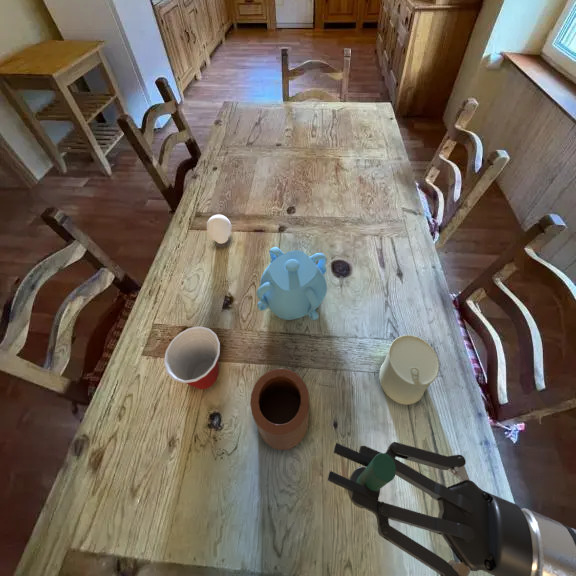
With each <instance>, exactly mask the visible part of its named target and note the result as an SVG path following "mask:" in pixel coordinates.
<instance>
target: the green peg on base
mask: <svg viewBox="0 0 576 576" xmlns="http://www.w3.org/2000/svg"><path fill="white" fill-rule="evenodd" d="M385 453H386V452H381V453H380V454H377V455H376V456H375V457H374V459H373V460H372V461H371V462H370V463H369V465H368V466H367V467H365V466H360V467H357V468H356V469H355V470H354V471H353V472H352V474H351V475H350V476H349V477H348V479H349V480H352V481H354V482H356V483H358V484H360V485H363V486H365V487H367V488H369V489H371V490H373V491H376V492H378V493H379V495H380V494H381V489H382V488H383V487H385V486H386V485H387V484H389V483H390V482H391V481H393V480H394V478H395V477H396V475H395V474H396V466H395V463H394V461H393V459H392V458H391V457H390V456H389V455H387V454H385ZM346 491H347V495H348V498H349V500H350V501H351V495H352V491H349V490H347V489H346ZM351 503H352V504H353V505H354V506H355V507H357V508H360V509H363V508H362V507H360V506H358V505H356V504H354V503H353V502H352V501H351Z"/></svg>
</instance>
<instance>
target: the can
mask: <svg viewBox="0 0 576 576" xmlns="http://www.w3.org/2000/svg"><path fill="white" fill-rule="evenodd" d="M439 372H440V361H439V357H438V355H437V353H436V351H435V349H434V348H433V347H432V346H431V345H430V344H429V343H428V342H427V341H426V340H425V339H423V338H421V337H419V336H416V335H412V334H403V335H399V336H397V337H396V338H395V339H394V340H393V341H392V342H391V344H389V348H388V352H387V353H386V356H385V359H384V361H383V362H382V364H381V366H380V368H379V374H378V377H379V378H378V379H379V383H380V386H381V388H382V390H383V391H384V393H385V394H386V395H387V396H388V397H389V398H390V399H391V400H392V401H394V402H395V403H398V404H400V405H405V406H406V405H407V406H408V405H414V404H416V403H418V402H419V401H420V400H421V399H422V397H423V395H424V393H425V392H426V390H427V389H428V388H429V386H430V385H431V384H433V382H434V381H435V380H436V379H437V378H438V375H439Z"/></svg>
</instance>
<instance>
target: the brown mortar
mask: <svg viewBox="0 0 576 576" xmlns="http://www.w3.org/2000/svg"><path fill="white" fill-rule="evenodd" d="M249 404H250V410H251V415H252V417H253V420H254V423H255V425H256V428H257V431H258V432H259V434H260V436H261V438H262V440H263V441H264V442H265V444H267V446H269V447H270V448H271V449H275V450H277V451H287V450H291V449H293V448H295V447H296V446H298V445H300V443H301V442H302V441H303V439H304V438H305V436H306V433H307V430H308V427H309V421H310V419H309V418H310V417H309V416H310V394H309V390H308V387H307V384H306V383H305V382H304V380H303V378H302V377H301V376H300V375H299V374H298V373H296V372H295V371H293V370H291V369H288V368H280V367H279V368H278V367H276V368H273V369H270V370H268V371H267V372H264V373H263V374H262V375H261V376H260V377H259V378H258V379H257V381H256V382H255V383H254V385H253V388H252V391H251V393H250V403H249Z"/></svg>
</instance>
